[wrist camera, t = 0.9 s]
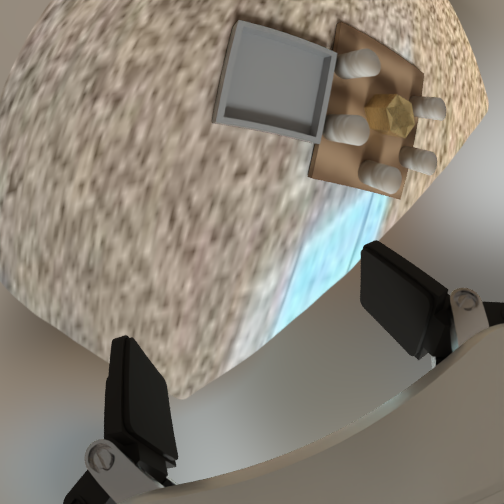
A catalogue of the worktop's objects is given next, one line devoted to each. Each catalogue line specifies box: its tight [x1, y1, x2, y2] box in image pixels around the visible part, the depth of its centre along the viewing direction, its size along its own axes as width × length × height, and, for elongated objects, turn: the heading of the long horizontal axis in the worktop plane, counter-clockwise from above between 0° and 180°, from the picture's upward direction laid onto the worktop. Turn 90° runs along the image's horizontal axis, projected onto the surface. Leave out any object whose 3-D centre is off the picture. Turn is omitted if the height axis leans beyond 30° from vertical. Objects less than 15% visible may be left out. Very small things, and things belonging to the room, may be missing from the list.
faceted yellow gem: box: [364, 94, 415, 138], centre depth 33 cm, size 7×6×5 cm
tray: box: [212, 20, 337, 144], centre depth 30 cm, size 14×14×3 cm
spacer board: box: [308, 22, 446, 199], centre depth 34 cm, size 26×21×7 cm
